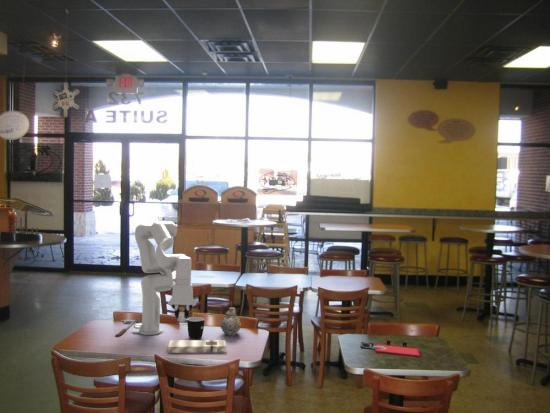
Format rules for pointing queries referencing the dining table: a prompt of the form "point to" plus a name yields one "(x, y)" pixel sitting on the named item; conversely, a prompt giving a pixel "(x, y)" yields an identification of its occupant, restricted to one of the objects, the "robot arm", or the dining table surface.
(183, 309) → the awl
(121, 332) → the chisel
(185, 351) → the subfloor board
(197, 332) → the mug
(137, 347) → the dining table surface
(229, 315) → the grey bulbous vase
